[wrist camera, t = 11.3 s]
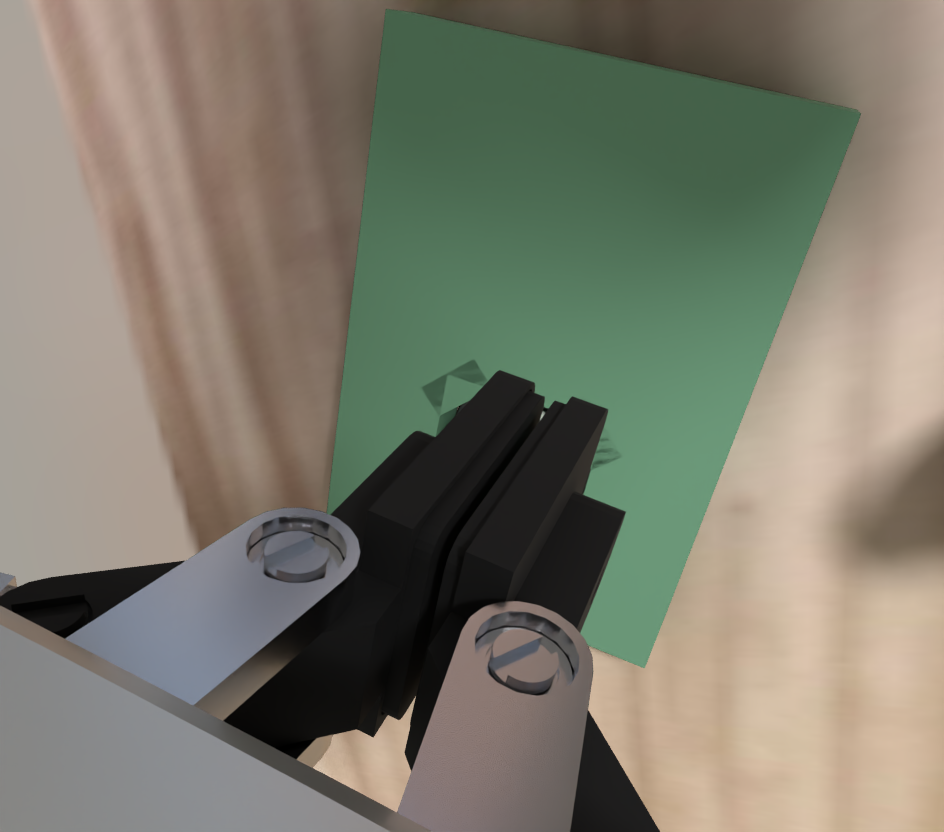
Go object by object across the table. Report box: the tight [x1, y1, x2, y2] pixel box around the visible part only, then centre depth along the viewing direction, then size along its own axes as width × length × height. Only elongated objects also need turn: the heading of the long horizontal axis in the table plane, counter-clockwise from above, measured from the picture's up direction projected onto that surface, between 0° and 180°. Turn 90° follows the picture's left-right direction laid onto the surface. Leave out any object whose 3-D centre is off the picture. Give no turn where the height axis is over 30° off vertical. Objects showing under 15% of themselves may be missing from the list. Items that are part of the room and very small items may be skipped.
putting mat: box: [327, 9, 861, 668], centre depth 36 cm, size 26×18×2 cm
